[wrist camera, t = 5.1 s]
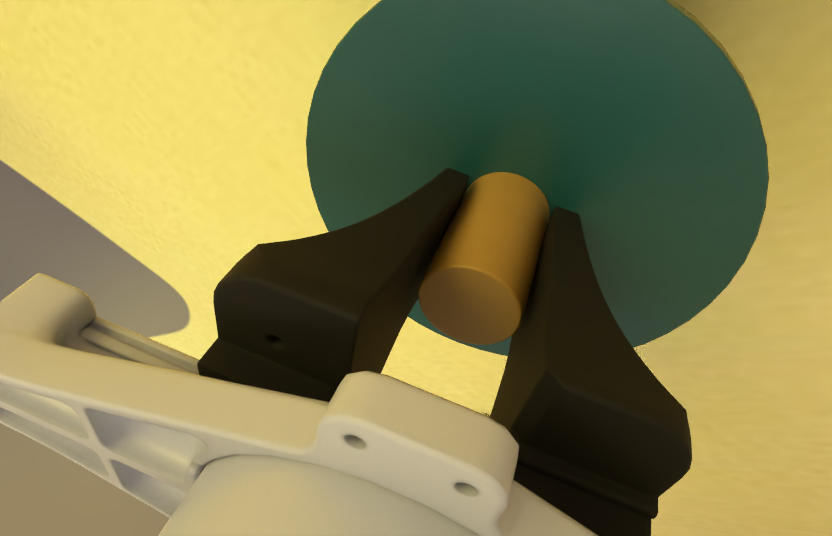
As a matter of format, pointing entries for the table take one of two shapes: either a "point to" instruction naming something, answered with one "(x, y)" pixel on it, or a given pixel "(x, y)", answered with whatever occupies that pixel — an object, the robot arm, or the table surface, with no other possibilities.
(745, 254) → the lid
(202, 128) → the table surface
